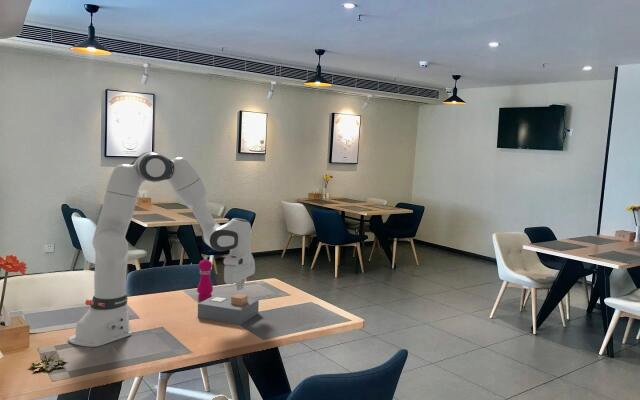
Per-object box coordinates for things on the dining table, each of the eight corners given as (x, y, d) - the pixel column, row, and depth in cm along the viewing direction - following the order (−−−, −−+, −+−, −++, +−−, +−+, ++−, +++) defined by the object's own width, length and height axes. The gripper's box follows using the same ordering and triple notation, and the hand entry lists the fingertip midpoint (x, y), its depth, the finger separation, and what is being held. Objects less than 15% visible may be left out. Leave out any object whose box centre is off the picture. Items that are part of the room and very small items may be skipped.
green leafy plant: (26, 363, 165) (25, 349, 165) (67, 357, 171) (67, 343, 171) (26, 378, 155) (26, 363, 154) (70, 371, 161) (70, 357, 160)
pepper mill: (210, 301, 236) (211, 258, 234) (195, 300, 236) (195, 257, 235) (214, 296, 244) (215, 255, 242) (199, 296, 244) (199, 254, 242)
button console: (240, 324, 207) (240, 310, 206) (197, 317, 213) (197, 303, 213) (258, 313, 222) (258, 299, 221) (218, 306, 228) (218, 293, 228)
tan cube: (241, 310, 212) (241, 298, 212) (230, 308, 214) (231, 297, 213) (247, 307, 217) (247, 295, 216) (236, 305, 219) (237, 293, 218)
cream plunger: (220, 313, 216) (220, 301, 215) (210, 311, 218) (210, 300, 217) (226, 309, 221) (226, 298, 220) (216, 308, 222) (216, 297, 222)
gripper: (245, 251, 224) (245, 282, 226) (221, 261, 205) (221, 294, 207) (258, 253, 222) (258, 284, 223) (235, 262, 203) (234, 296, 204)
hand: (240, 289), depth 215 cm, fingers closed
